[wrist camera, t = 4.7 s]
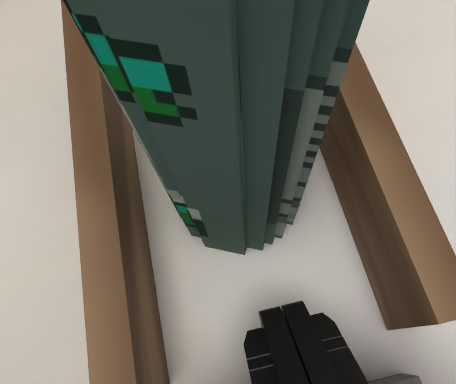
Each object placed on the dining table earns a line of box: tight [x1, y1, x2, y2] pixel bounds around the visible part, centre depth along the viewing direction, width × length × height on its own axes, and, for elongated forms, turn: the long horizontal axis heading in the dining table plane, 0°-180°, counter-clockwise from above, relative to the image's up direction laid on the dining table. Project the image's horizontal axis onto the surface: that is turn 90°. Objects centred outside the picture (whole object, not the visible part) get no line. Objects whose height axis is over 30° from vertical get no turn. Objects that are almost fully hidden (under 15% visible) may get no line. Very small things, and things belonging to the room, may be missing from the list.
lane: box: [61, 0, 456, 384], centre depth 18 cm, size 13×20×5 cm, turn 13°
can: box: [63, 0, 369, 255], centre depth 13 cm, size 6×6×15 cm
